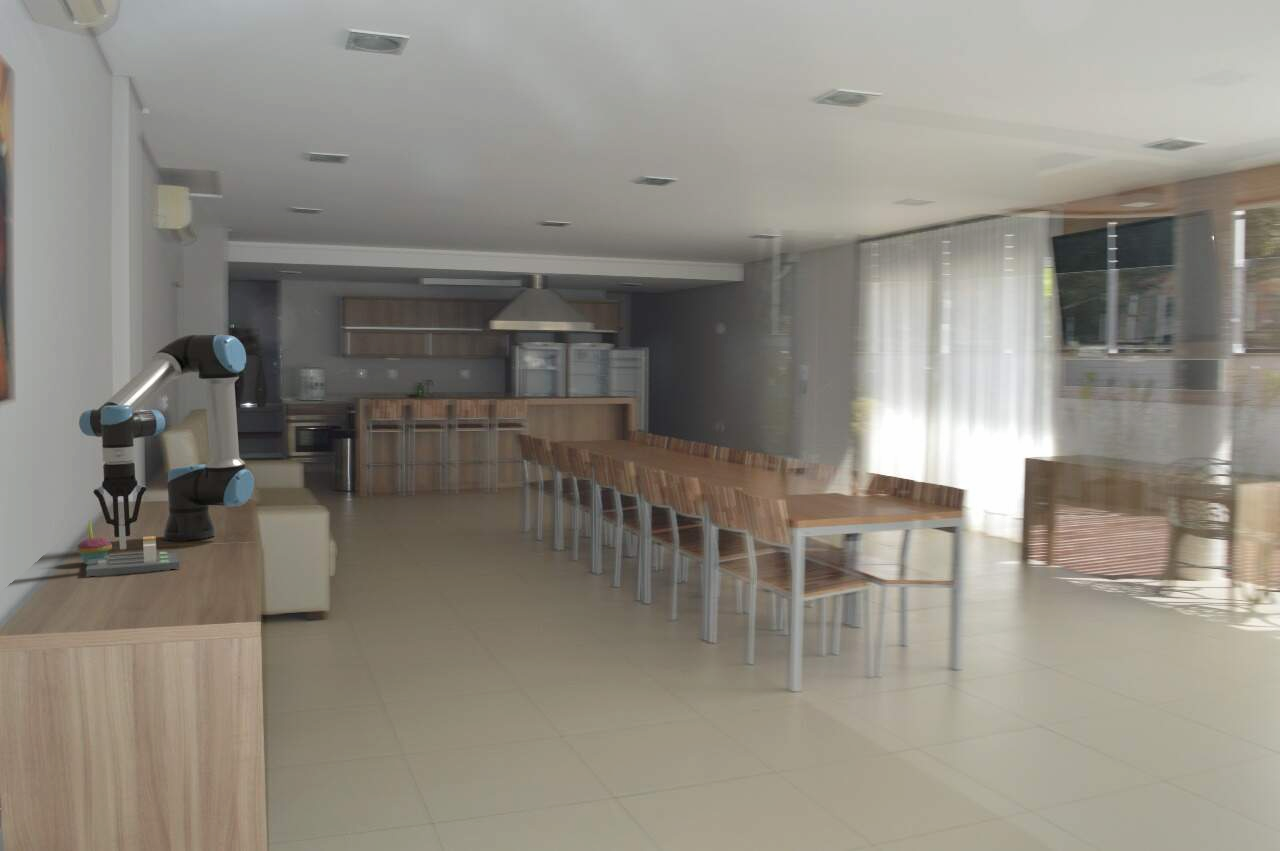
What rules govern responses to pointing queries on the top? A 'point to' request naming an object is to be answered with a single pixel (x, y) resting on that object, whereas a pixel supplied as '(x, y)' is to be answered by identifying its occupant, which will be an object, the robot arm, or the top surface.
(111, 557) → the panel
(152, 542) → the breaker handle
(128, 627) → the top surface
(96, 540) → the cupcake
